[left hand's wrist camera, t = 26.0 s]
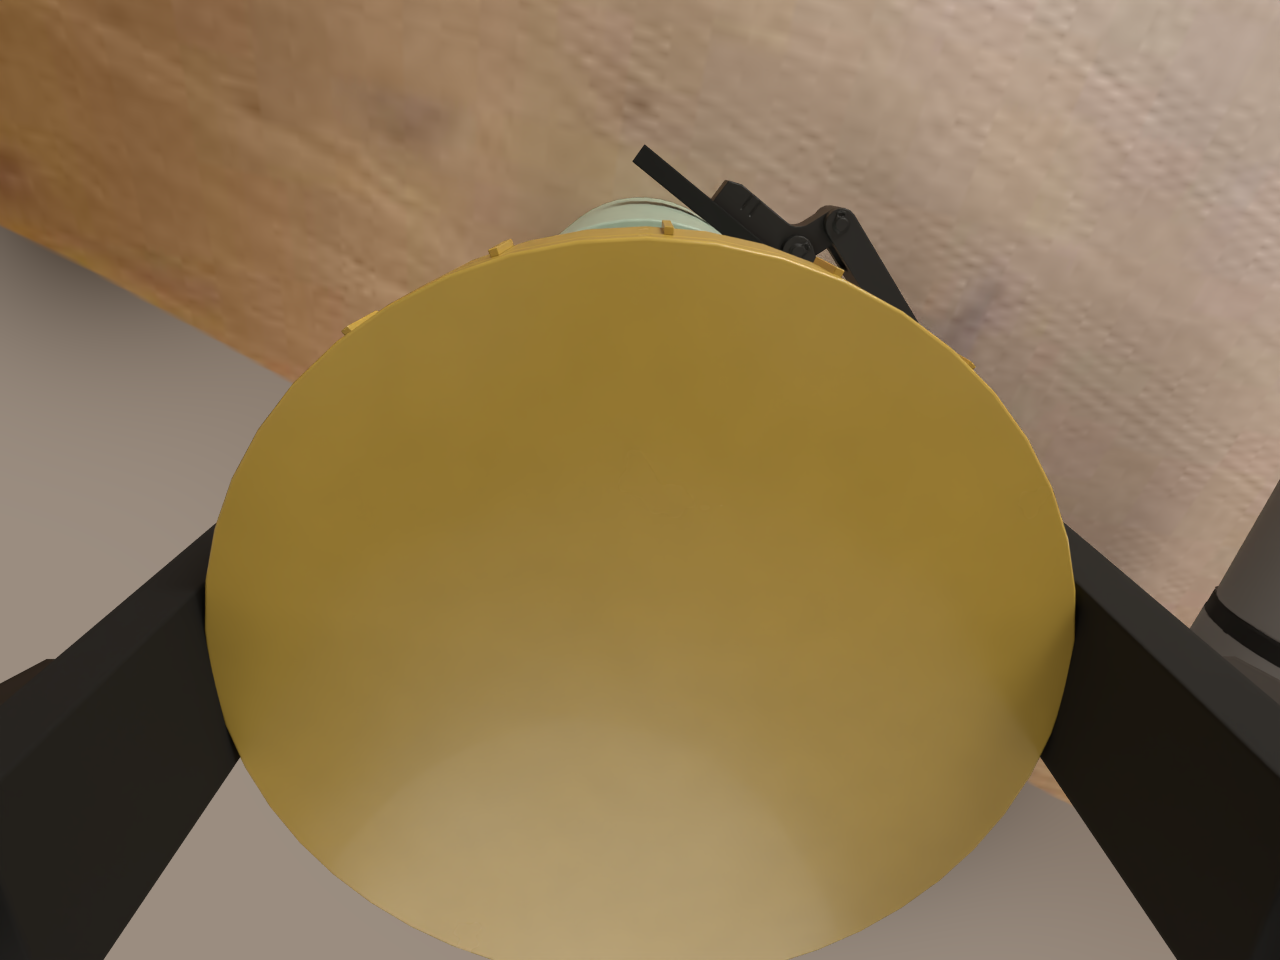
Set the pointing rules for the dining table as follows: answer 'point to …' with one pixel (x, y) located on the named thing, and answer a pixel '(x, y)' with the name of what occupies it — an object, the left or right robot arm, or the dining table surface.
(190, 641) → the left robot arm
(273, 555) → the lid
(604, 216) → the jar
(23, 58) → the dining table surface
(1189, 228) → the dining table surface
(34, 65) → the dining table surface
